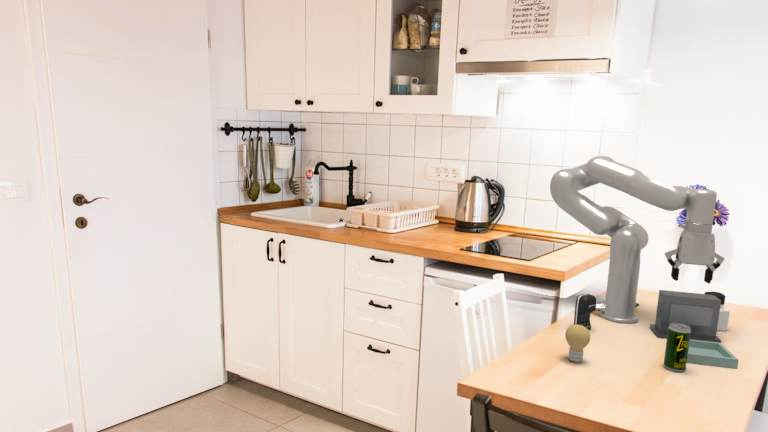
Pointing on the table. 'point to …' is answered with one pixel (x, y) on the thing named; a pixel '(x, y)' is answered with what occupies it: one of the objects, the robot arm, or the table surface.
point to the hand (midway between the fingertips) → (690, 280)
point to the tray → (710, 354)
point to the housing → (688, 314)
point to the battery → (584, 310)
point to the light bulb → (577, 341)
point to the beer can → (677, 347)
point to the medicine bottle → (721, 311)
